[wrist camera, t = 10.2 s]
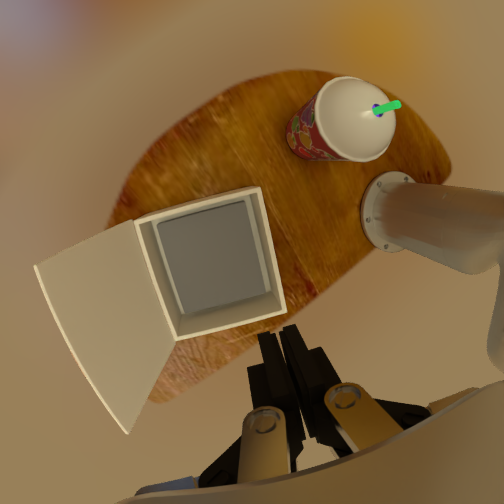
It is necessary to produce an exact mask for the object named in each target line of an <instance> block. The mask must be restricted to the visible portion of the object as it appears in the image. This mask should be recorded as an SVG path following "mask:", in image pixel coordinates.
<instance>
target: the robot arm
mask: <svg viewBox="0 0 504 504" xmlns="http://www.w3.org/2000/svg"><path fill="white" fill-rule="evenodd" d="M366 218H367V220H366ZM361 223H362V227H363V230H364V233H365V235H366V237H367V238H368V240H369V241H370V242H371V243H372V244H373V245H374V246H375V247H377V248H379V249H380V250H383V251H386V252H399V251H401V250H403V249H408V250H410V251H412V252H415V253H417V254H420V255H422V256H424V257H427V258H429V259H431V260H434V261H436V262H438V263H441V264H443V265H445V266H448V267H450V268H452V269H455V270H457V271H460V272H462V273H465V274H471V275H473V274H480V273H483V272H485V271H487V270H489V269H491V268H492V267H494V266H495V265H497V264H498V263H499V266H500V276H499V286H498V291H497V296H496V302H495V306H494V310H493V315H492V319H491V324H490V328H489V332H488V338H487V352H488V356H489V359H490V361H491V362H492V363H493V365H494V366H495V367H496V368H497V369H499V370H500V371H501V372H503V373H504V192H500V191H489V190H480V189H472V188H464V187H455V186H446V185H436V184H424V183H416V182H415V181H414V180H413V179H412V178H411V177H410V176H409V175H407V174H405V173H402V172H398V171H390V172H385V173H382V174H380V175H379V176H377V177H376V178H375V179H374V180H373V181H372V182H371V183H370V184H369V186H368V187H367V189H366V191H365V193H364V196H363V199H362V204H361ZM279 335H280V339H281V344H282V348H283V352H284V356H285V360H284V357H283V354H282V351H281V348H280V346H279V343H278V340H277V337H276V334H275V333H273V334H270V332H269V331H267V332H264V333H260V334H257V336H258V340H259V345H260V349H261V353H262V357H263V361H264V363H262V364H258V365H254V366H250V367H247V371H248V378H249V384H250V391H251V397H252V403H253V409H254V410H252V411H251V412H249V413H248V414H247V415H246V417H245V418H244V421H243V426H242V435H241V436H240V437H239V438H238V439H237V440H236V441H235V442H234V443H233V444H232V446H230V447H229V449H227V450H226V451H225V452H224V453H223V454H222V455H221V456H220V457H219V458H218V459H217V460H215V461H214V462H213V463H212V464H211V465H210V466H209V467H208V468H207V469H206V470H204V471H203V473H202V474H201V475H200V476H198V477H195V478H193V477H192V476H189V477H185V478H181V479H177V480H173V481H168V482H164V483H159V484H154V485H148V486H145V487H142V488H140V489H139V490H138V491H137V492H136V494H135V496H133V497H130V498H127V499H124V500H121V501H119V502H117V503H115V504H504V380H503V381H498V382H495V383H492V384H489V385H486V386H484V387H482V388H474V387H472V388H468V389H466V390H463V391H461V392H458V393H456V394H453V395H451V396H448V397H445V398H443V399H440V400H437V401H434V402H432V403H429V405H428V406H427V407H422V406H419V405H412V404H405V403H398V402H391V401H385V400H380V399H374V398H372V397H371V396H370V395H369V394H368V393H367V392H366V391H365V390H364V388H362V387H361V386H360V385H358V384H355V383H350V382H346V383H342V382H341V380H340V378H339V377H338V375H337V373H336V371H335V370H334V368H333V366H332V364H331V363H330V361H329V359H328V357H327V356H326V354H325V352H324V351H323V349H322V348H321V347H317V348H314V349H311V350H308V348H307V347H306V345H305V342H304V341H303V338H302V337H301V334H300V332H299V330H298V329H297V326H296V325H295V324H293V325H289V326H286V327H283V331H280V332H279ZM285 361H286V363H285ZM300 410H301V413H302V416H303V419H304V422H305V425H306V427H307V430H308V433H309V436H310V438H313V437H315V438H316V440H317V443H320V444H323V445H326V446H329V448H330V450H331V452H332V454H333V455H334V457H335V458H336V460H334V461H331V462H328V463H325V464H321V465H318V466H315V467H312V468H308V469H305V470H301V471H298V461H297V457H298V455H299V454H300V453H301V451H302V450H303V444H302V441H303V440H306V437H305V431H304V427H303V422H302V418H301V413H300Z"/></svg>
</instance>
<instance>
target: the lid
mask: <svg viewBox="0 0 504 504" xmlns="http://www.w3.org/2000/svg"><path fill="white" fill-rule="evenodd" d="M34 269H35V272H36V275H37V277H38V280H39V283H40V285H41V288H42V291H43V293H44V295H45V298H46V300H47V303H48V305H49V307H50V310H51V312H52V314H53V316H54V319H55V320H56V323H57V325H58V327H59V329H60V331H61V333H62V335H63V337H64V339H65V341H66V343H67V345H68V346H69V349H70V350H71V354H72V356H73V357H74V359H75V361H76V363H77V364H78V366H79V368H80V370H81V371H82V373H83V374H84V376H85V378H87V380H88V381H89V383H90V385H91V386H92V388H93V389H94V391H95V392H96V394H97V395H98V397H99V398H100V400H101V401H102V402H103V404H104V405H105V407H106V408H107V410H108V411H109V413H110V414H111V415H112V416H113V418H114V419H115V421H116V422H117V423H118V425H119V426H120V427H121V429H122V430H123V431H124V432H125V434H130V432H131V430H132V428H133V426H134V423H135V422H136V420H137V418H138V416H139V414H140V412H141V410H142V408H143V406H144V404H145V402H146V400H147V398H148V396H149V394H150V392H151V390H152V388H153V386H154V384H155V382H156V380H157V378H158V377H159V375H160V373H161V371H162V369H163V367H164V365H165V363H166V361H167V359H168V357H169V355H170V354H171V352H172V350H173V348H174V346H175V344H176V343H175V341H174V338H173V336H172V333H171V331H170V328H169V326H168V323H167V321H166V318H165V316H164V313H163V311H162V308H161V305H160V303H159V300H158V297H157V295H156V292H155V289H154V286H153V283H152V281H151V278H150V275H149V272H148V269H147V266H146V263H145V260H144V257H143V254H142V251H141V247H140V244H139V241H138V238H137V234H136V231H135V227H134V224H133V220H132V219H131V220H128V221H126V222H123V223H121V224H119V225H116V226H114V227H112V228H110V229H107V230H105V231H103V232H101V233H99V234H96V235H94V236H92V237H90V238H88V239H86V240H83V241H81V242H79V243H77V244H75V245H73V246H71V247H69V248H67V249H65V250H63V251H61V252H59V253H57V254H55V255H53V256H51V257H49V258H47V259H45V260H43V261H41V262H39V263H37V264H35V265H34Z"/></svg>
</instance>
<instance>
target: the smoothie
mask: <svg viewBox="0 0 504 504" xmlns="http://www.w3.org/2000/svg"><path fill="white" fill-rule="evenodd" d="M400 107H401V103H400V101H399V100H395V101H392V102H390V100H389V99H388V97H387V96H386V95H385V94H384V93H383V92H382V91H381V90H380V89H379V88H378V87H376V86H374V85H372V84H371V83H369V82H366V81H363V80H361V79H359V78H354V77H349V76H344V77H337V78H334V79H332V80H331V81H329V82H327V83H325V85H324V86H323V87H322V88H321V89H320V90H319V91H318V92H317V93H316V94H315V95H314V96H313V97H312V98H311V99H310V100H309V101H308V102H307V103H306V104H305V105H304V106H303V107H302V108H301V109H300V110H299V111H298V112H297V113H296V114H295V115H294V116H293V117H292V118H291V120H290V121H289V123H288V125H287V129H286V139H287V141H288V144H289V147H290V148H291V149H292V150H293V152H294V153H295V154H297V155H298V156H299V157H301V158H303V159H306V160H336V161H356V162H368V161H371V160H374V159H377V158H378V157H379V156H380V155H382V154H383V153H384V152H385V151H386V149H387V147H388V146H389V144H390V142H391V139H392V138H393V136H394V131H395V127H396V117H395V112H394V109H398V108H400Z"/></svg>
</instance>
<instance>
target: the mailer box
mask: <svg viewBox="0 0 504 504" xmlns="http://www.w3.org/2000/svg"><path fill="white" fill-rule="evenodd" d="M133 222H134V225H135V229H136V232H137V236H138V239H139V242H140V246H141V249H142V252H143V255H144V258H145V261H146V264H147V267H148V270H149V273H150V276H151V279H152V282H153V285H154V288H155V290H156V293H157V296H158V299H159V301H160V304H161V307H162V309H163V312H164V315H165V317H166V320H167V322H168V325H169V327H170V330H171V332H172V335H173V337H174V339H175V341H178V340H182V339H187V338H191V337H196V336H200V335H204V334H208V333H212V332H216V331H220V330H224V329H228V328H232V327H236V326H240V325H244V324H247V323H251V322H255V321H259V320H262V319H266V318H269V317H273V316H276V315H280V314H283V313H286V312H287V309H286V304H285V299H284V294H283V289H282V284H281V279H280V275H279V270H278V265H277V260H276V255H275V251H274V246H273V241H272V237H271V232H270V227H269V223H268V218H267V214H266V209H265V205H264V200H263V196H262V191H261V187H256V186H249V187H244V188H240V189H236V190H232V191H228V192H224V193H220V194H216V195H212V196H208V197H204V198H201V199H197V200H193V201H189V202H186V203H182V204H179V205H175V206H171V207H168V208H164V209H161V210H158V211H154V212H151V213H148V214H145V215H143V216H142V217H140V218H138V219H136V220H134V221H133Z"/></svg>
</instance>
